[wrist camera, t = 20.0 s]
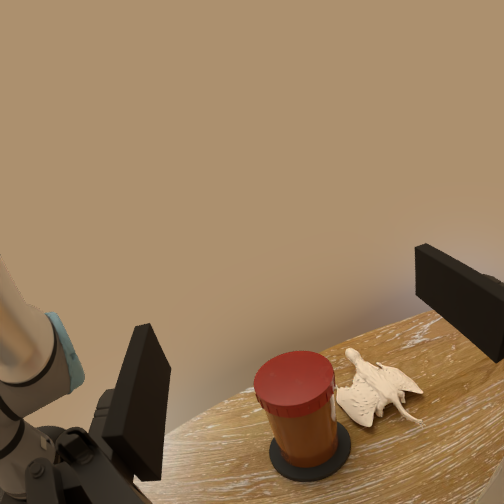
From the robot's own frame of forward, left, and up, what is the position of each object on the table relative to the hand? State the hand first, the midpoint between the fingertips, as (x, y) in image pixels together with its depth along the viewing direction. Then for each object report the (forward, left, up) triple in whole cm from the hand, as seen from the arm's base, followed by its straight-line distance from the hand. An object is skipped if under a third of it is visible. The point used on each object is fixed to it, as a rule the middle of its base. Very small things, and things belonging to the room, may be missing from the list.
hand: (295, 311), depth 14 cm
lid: (0, +10, -13) cm, 17 cm away
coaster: (0, +10, -26) cm, 28 cm away
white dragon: (+11, +13, -26) cm, 31 cm away
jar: (0, +10, -25) cm, 27 cm away
